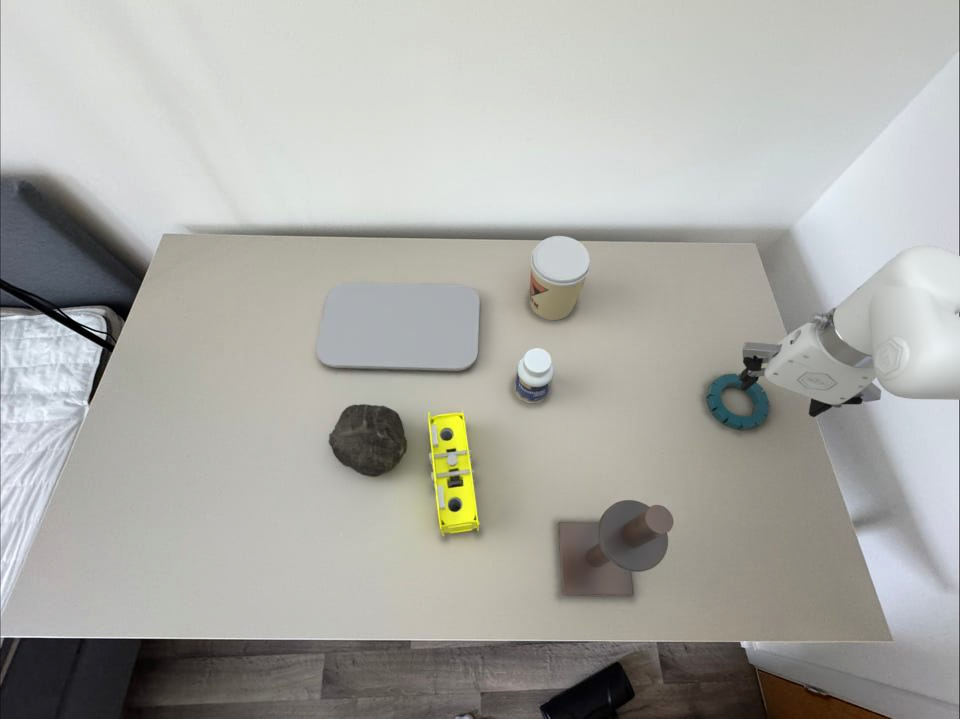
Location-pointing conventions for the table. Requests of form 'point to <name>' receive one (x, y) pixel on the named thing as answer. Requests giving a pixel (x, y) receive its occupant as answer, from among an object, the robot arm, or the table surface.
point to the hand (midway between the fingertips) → (777, 394)
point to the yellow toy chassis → (452, 473)
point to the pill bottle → (534, 376)
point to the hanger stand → (612, 548)
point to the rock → (369, 439)
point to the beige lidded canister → (557, 276)
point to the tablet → (400, 326)
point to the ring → (729, 418)
